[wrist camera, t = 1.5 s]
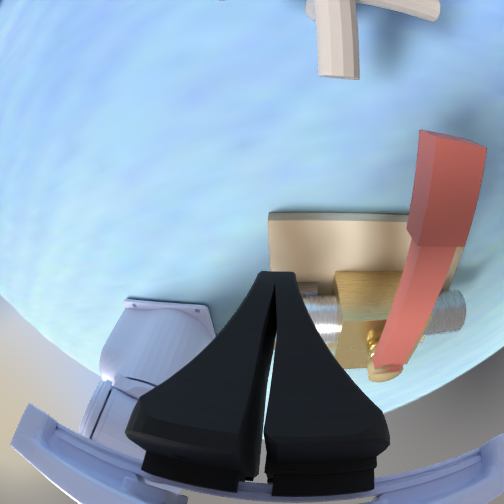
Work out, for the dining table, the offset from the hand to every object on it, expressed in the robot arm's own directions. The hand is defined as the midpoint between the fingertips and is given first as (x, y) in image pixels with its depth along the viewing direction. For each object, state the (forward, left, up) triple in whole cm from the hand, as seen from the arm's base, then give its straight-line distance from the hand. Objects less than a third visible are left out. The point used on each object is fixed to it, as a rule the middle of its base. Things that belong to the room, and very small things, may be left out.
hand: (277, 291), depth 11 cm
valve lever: (+7, -1, -2) cm, 7 cm away
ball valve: (+7, -8, -9) cm, 14 cm away
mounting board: (+7, -8, -9) cm, 14 cm away
